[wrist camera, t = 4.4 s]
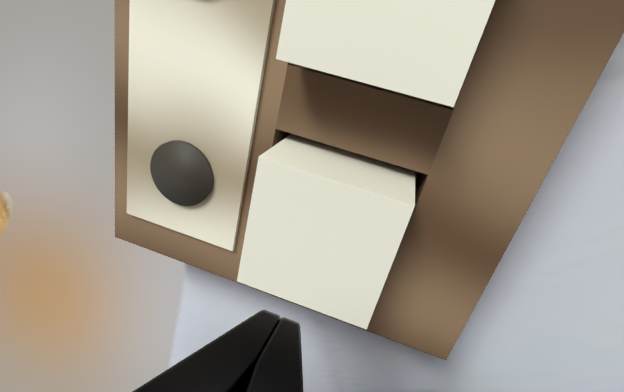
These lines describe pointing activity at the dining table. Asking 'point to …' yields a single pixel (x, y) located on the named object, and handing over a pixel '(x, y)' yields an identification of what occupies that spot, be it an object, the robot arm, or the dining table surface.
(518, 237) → the dining table surface
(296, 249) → the button
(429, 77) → the middle button
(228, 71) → the button board
